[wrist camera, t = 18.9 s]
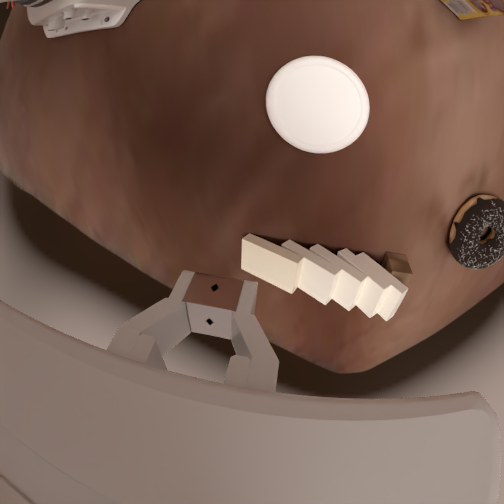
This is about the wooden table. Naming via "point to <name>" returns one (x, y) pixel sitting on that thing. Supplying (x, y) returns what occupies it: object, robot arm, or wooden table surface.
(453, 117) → the wooden table surface
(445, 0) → the candy box
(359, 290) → the domino
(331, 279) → the domino
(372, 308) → the domino
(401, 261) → the end block
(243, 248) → the domino
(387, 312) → the domino
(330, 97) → the coaster
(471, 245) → the donut
